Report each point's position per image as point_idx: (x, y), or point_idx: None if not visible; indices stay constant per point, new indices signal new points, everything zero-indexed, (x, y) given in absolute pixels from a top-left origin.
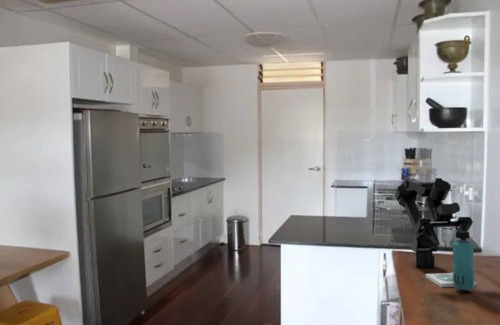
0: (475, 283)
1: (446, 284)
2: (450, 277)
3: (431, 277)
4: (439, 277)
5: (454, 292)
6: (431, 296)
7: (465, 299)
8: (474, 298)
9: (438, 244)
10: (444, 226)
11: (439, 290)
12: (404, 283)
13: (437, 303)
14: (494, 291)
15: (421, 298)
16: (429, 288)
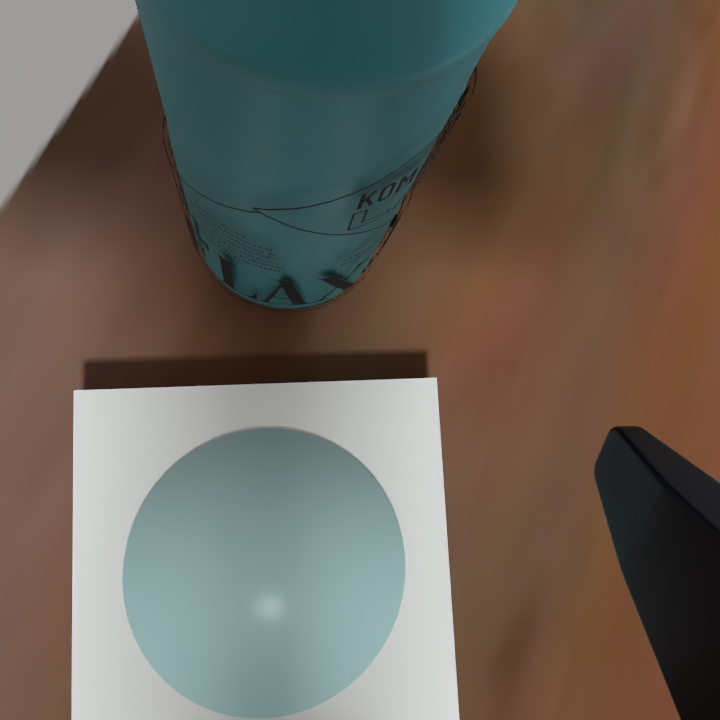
0: (80, 392)
1: (382, 381)
2: (258, 573)
3: (449, 598)
4: (373, 580)
5: None
6: (593, 161)
7: None
8: None
9: (630, 430)
10: None
11: (478, 295)
12: None
13: (603, 15)
14: (10, 208)
15: (678, 129)
16: (540, 358)
